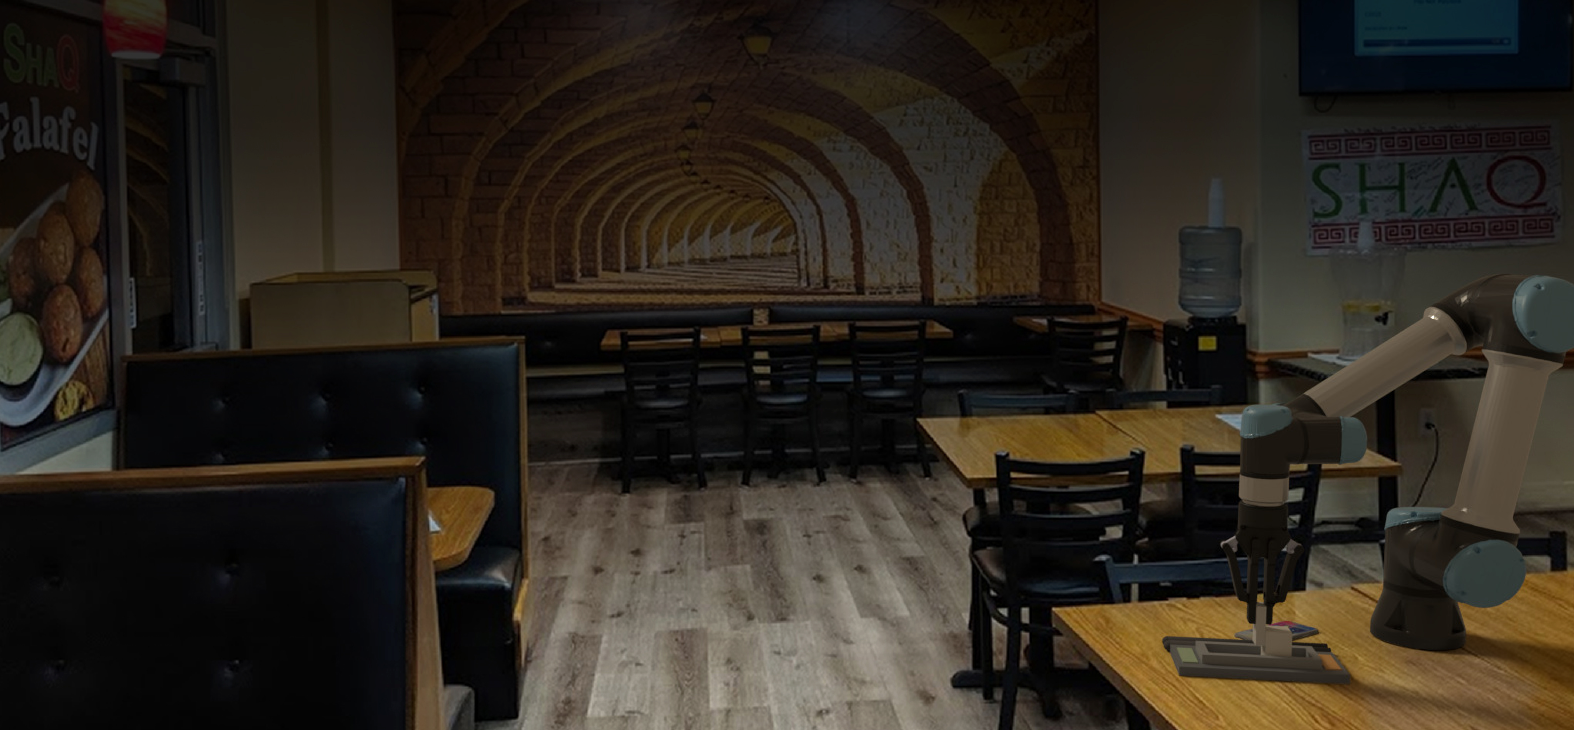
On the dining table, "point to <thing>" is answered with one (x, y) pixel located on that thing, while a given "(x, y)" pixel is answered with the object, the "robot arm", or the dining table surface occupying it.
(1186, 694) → the dining table surface
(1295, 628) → the smartphone
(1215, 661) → the panel
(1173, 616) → the dining table surface
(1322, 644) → the dark grey rod
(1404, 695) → the dining table surface
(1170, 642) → the cord
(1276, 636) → the block
